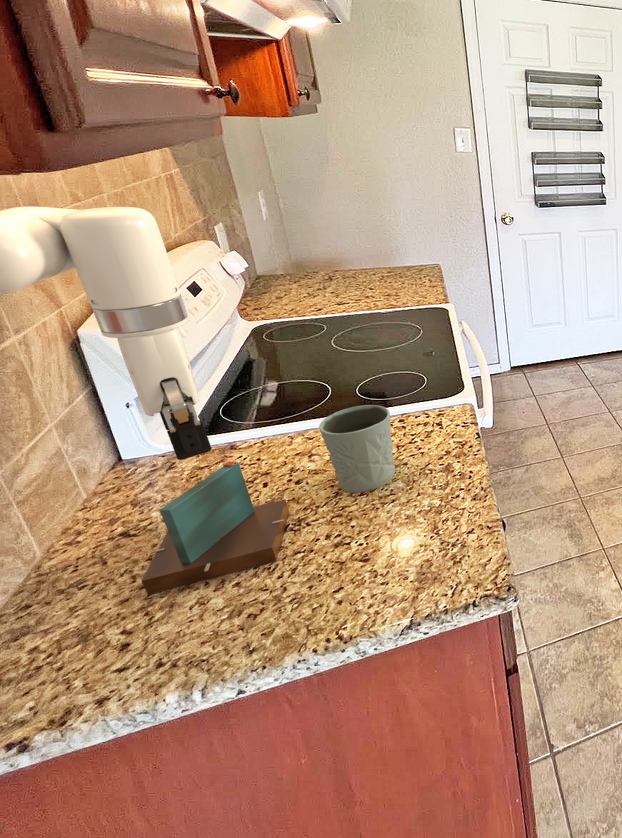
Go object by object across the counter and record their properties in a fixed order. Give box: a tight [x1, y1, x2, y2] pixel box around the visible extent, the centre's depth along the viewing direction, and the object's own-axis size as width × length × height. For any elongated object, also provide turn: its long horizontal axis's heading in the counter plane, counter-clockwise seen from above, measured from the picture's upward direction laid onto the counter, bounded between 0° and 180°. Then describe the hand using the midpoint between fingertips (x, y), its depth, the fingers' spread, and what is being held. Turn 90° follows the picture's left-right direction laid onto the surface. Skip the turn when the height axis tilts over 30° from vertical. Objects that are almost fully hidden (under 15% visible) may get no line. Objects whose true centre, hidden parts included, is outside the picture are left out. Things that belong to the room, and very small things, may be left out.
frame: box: [159, 460, 254, 564], centre depth 81 cm, size 11×1×9 cm, turn 178°
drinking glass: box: [318, 404, 396, 494], centre depth 99 cm, size 10×10×12 cm
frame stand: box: [141, 499, 290, 596], centre depth 83 cm, size 15×15×3 cm
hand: (188, 439), depth 73 cm, fingers open, 9 cm apart
